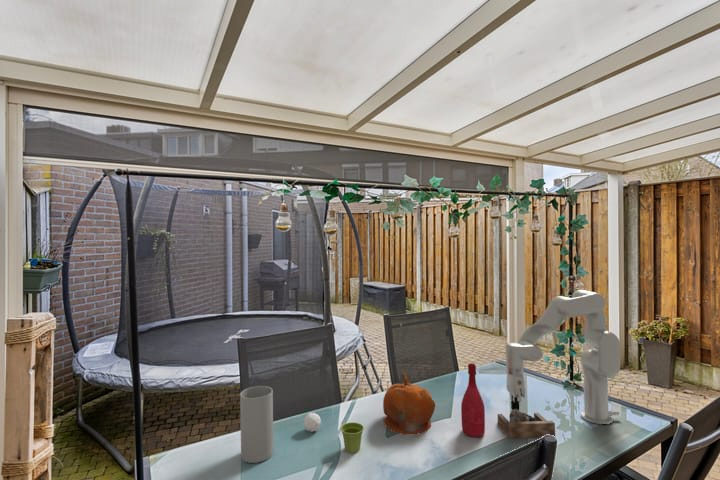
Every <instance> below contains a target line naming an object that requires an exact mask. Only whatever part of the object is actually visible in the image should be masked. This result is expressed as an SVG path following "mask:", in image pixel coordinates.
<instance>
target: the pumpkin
mask: <svg viewBox="0 0 720 480" xmlns="http://www.w3.org/2000/svg"><path fill="white" fill-rule="evenodd" d="M402 378H403V381H404V382H401V383H396V382H395V383H394V384H391V385H390V386H389V388H388V389H387V390H386V392H385V393H384V396H383V401H382V402H383V403H382V405H383V407H382V408H383V414H384V415H385V418H384V420H383V421H384V422H383V423H385V424H384V426H385V428H387V429H388V430H389V429H390V430H389V431H391V430H392V431H391V432H393V431H394V432H393V433H396V432H397V433H396V434H399V433H402V434H401V435H405V434H414V435H419V434H418V433H420V434H423V433H425V431H426V432H427V431H429V430H430V429H431V427H432V422H431V421H432V420H431V419H432V416H433V415H434V412H435V408H436V403H435V400H434V399H433V398H432V396H431V393H430V391H429V390H428V389H426V388H422V387H421V386H419V385H417V384H412V383H411V380H410V378H409V376H408V375H407V373H406V371H402ZM428 429H429V430H428ZM422 432H423V433H422Z"/></svg>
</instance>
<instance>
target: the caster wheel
mask: <svg viewBox="0 0 720 480" xmlns="http://www.w3.org/2000/svg"><path fill="white" fill-rule="evenodd" d="M527 421H535V419H534V416H531V415H530V414H527V413H524V412H521V411H520V409H519V410H518V409H513V410H512V409H511V411H510V413H509V422H527Z"/></svg>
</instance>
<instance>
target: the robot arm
mask: <svg viewBox="0 0 720 480" xmlns="http://www.w3.org/2000/svg"><path fill="white" fill-rule="evenodd" d="M606 302H607V300H606V298H605V297H604V295H602V294H601V293H599V292H595V291H589V290H586V289H585V290H584V289H577V290H575V291H573V292H572V294H571V297H567V296H563V295H562V296H561V295H557V296H554V297H553V298H552V299H551V301H550V302H549V304H548V305H547V307H546V308H545V310H544V312H543V313H542V315H541V316H540V318H539V319H538V320H537V321H536V322H535V323H533V324H532V325H531V326H529V327H527V329H526V330H525V331H524V332H523V334H522V335H521V337H520V338H519V339H518V341H517V342H508V343H506V345H505V372H506V390H507V392H508V393H509V394H510V409H511V410H513V409H518V410H519V411H520V402H522V398H525V397H526V389H525V388H526V387H525V378H524V361H527V362H529V361H530V362H538V361H540V360H541V359H542V358H543V355H544V353H543V350H542V349H541V347H540V346H538V345H537V344H536V343H537V341H538V340H539V339H541V338H542V337H544V336H546V335H549V334H550V335H551V334H554V333H555V332H557V331H558V329H559V328H560V327H561V325H562V323H563V322H564V320H565V319H566V317H567V318H579V317H584V342H585V343H586V344H587V345H588V346H590V347H592V348H590V349H586V350H584V351H583V352H582V354H581V356H580V364H581V369H582V374H583V376H582V377H583V402H584V404H583V406H584V410H582V411H580V416H581V418H582V419H583V420H585V421H587V422H590V423H592V424H593V423H594V424H597V425H602V424H607V425H610V423H611V424H613V423H614V418H613V416H619V415H620V412H619V410H613V409H612V408H609V388H608V387H609V384H608V383H609V382H608V379H613V378H615V377H616V376H618V375H619V373H620V371H621V370H620V369H621V349H622V348H621V342H620V339H619V337H618V336H617V335H616V334H615V333H614V332H612V331H609V330H607V315H606V311H605V310H604V309H605V307H606Z"/></svg>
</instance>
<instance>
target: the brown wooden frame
mask: <svg viewBox="0 0 720 480" xmlns="http://www.w3.org/2000/svg"><path fill="white" fill-rule="evenodd" d="M533 418H534V419H535V421H527V422H510V420H508V419H507V418H506V417H505V416H504V415H503V413H497V424H498V425H499V426H500V427H501V429H502V430H503V431H504V433H506V435H507V436H508V437H509V438H510V439H513V440H514V439H542V438H541V437H542V436H544V435H546V434H550V435H554V436H555V437H556V422H555V421H553V420H547V418H545V417H544V416H543V415H542V414H541V413H539V412H534V413H533Z"/></svg>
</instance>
